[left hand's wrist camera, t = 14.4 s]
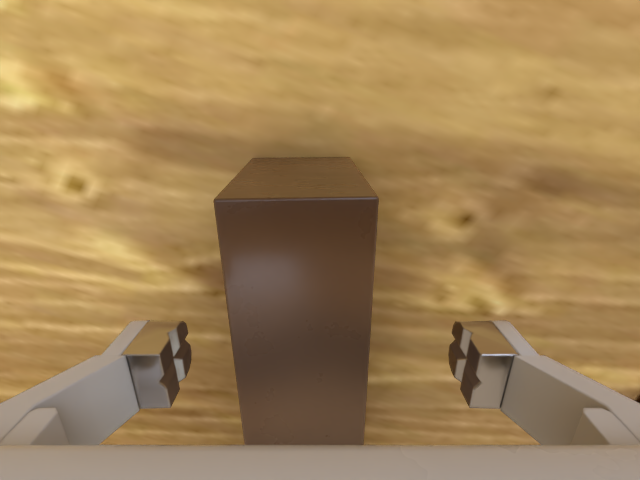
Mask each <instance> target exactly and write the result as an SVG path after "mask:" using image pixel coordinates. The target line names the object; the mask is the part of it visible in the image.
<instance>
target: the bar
mask: <svg viewBox="0 0 640 480" xmlns="http://www.w3.org/2000/svg"><path fill="white" fill-rule="evenodd" d="M378 202H379V198H378V196H377V195H376V193H375V192H374V191H373V189H372V188H371V186H370V185H369V184H368V182H367V181H366V179H365V178H364V177H363V175H362V174H361V173H360V171H359V170H358V168H357V167H356V166H355V164H354V163H353V161H352V160H351V159H350V158H349V157H321V158H253V159H251V161H250V162H249V163H248V164H247V165H246V166H245V167H244V168H243V169H242V170H241V171H240V172H239V173H238V174H237V175H236V177H235V178H234V179H233V180H232V181H231V182H230V183H229V184H228V185H227V186H226V187H225V188H224V189H223V190H222V191H221V193H220V194H219V195H218V196H217V197H216V198H215V199H214V208H215V215H216V223H217V231H218V239H219V247H220V255H221V262H222V270H223V278H224V286H225V294H226V302H227V310H228V317H229V325H230V333H231V341H232V349H233V357H234V364H235V372H236V380H237V388H238V396H239V404H240V412H241V419H242V427H243V435H244V443H245V445H363V444H364V428H365V412H366V396H367V380H368V364H369V348H370V332H371V315H372V299H373V283H374V267H375V251H376V235H377V219H378Z"/></svg>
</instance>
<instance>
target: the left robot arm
mask: <svg viewBox="0 0 640 480" xmlns="http://www.w3.org/2000/svg"><path fill="white" fill-rule="evenodd" d="M187 334H188V330H187V325H186V323H185V322H184V321H154V320H151V321H149V320H135V321H132V322H130V323H129V324H128V325H127V326H126V328H125V329H124V330H123V331H122V332H121V333H120V334H119V335H118V337H117V338H116V339H115V340H114V341H113V342H112V343H111V344H110V346H109V347H108V348H107V349H106V350H105V351H104V352H103V353H102V355H95V356H93V357H91V358H89V359H87V360H85V361H83V362H81V363H79V364H77V365H75V366H73V367H71V368H69V369H67V370H65V371H63V372H61V373H59V374H58V375H56V376H54V377H52V378H50V379H48V380H46V381H44V382H42V383H40V384H38V385H36V386H34V387H32V388H30V389H28V390H26V391H24V392H22V393H20V394H18V395H16V396H14V397H12V398H10V399H8V400H6V401H4V402H2V403H0V480H640V403H638V402H636V401H634V400H632V399H630V398H628V397H626V396H624V395H622V394H620V393H618V392H616V391H614V390H612V389H610V388H608V387H606V386H604V385H602V384H600V383H598V382H596V381H594V380H592V379H590V378H588V377H586V376H584V375H582V374H580V373H578V372H576V371H574V370H573V369H571V368H569V367H567V366H565V365H563V364H561V363H559V362H557V361H555V360H553V359H551V358H549V357H547V356H545V355H538V353H537V352H536V351H535V350H534V349H533V348H532V347H531V346H530V344H529V343H528V342H527V341H526V340H525V339H524V338H523V337H522V335H521V334H520V333H519V332H518V331H517V330H516V329H515V328H514V326H513V325H512V324H511V323H510V322H508V321H506V320H495V321H459V322H455V323H454V325H453V329H452V334H453V336H454V338H455V340H454V341H453V342H452V343H451V344H450V347H449V364H450V368H451V371H452V373H453V375H454V377H455V378H456V379H457V380H459V381H460V382H461V388H460V390H461V392H462V394H463V396H464V398H465V400H466V402H467V404H468V406H469V408H494V409H501V411H502V412H503V413H504V414H506V415H507V416H508V417H509V418H510V419H512V420H513V421H514V422H515V423H516V424H517V425H519V426H520V427H521V428H522V429H523V430H525V431H526V432H527V433H528V434H529V435H530V436H532V437H533V438H534V439H535V440H536V441H538V442H539V443H540V444H541V445H99V444H100V443H101V442H103V441H104V440H105V439H106V438H107V437H108V436H110V435H111V434H112V433H113V432H114V431H116V430H117V429H118V428H119V427H120V426H122V425H123V424H124V423H125V422H126V421H127V420H129V419H130V418H131V417H132V416H133V415H135V414H136V413H137V412H138V411H139V409H145V408H171V406H172V404H173V402H174V400H175V398H176V396H177V394H178V392H179V390H180V388H179V382H180V381H181V380H183V379H184V378H185V377H186V375H187V373H188V371H189V368H190V364H191V347H190V344H189V343H188V342H187V341H186V340H185V338H186V336H187Z"/></svg>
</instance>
